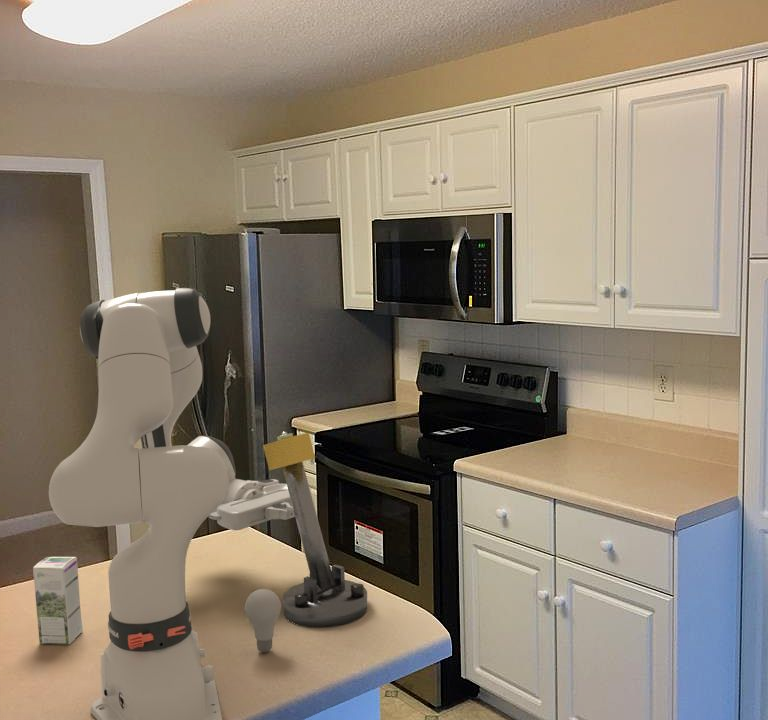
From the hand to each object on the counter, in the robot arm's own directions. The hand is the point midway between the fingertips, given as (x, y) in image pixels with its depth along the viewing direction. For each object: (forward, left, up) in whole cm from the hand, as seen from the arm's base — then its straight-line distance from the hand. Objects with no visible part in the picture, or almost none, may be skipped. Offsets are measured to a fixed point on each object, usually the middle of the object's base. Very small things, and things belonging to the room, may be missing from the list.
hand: (291, 513), depth 168 cm
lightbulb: (-18, +13, -18) cm, 28 cm away
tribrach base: (-7, -3, -17) cm, 19 cm away
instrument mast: (-7, -3, -13) cm, 15 cm away
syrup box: (+6, +43, -18) cm, 47 cm away
